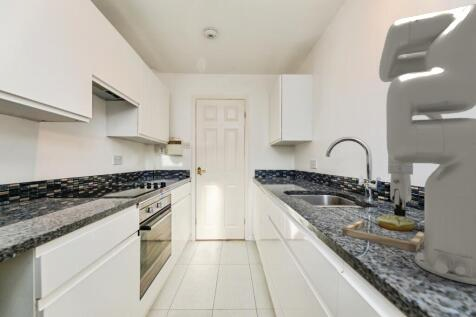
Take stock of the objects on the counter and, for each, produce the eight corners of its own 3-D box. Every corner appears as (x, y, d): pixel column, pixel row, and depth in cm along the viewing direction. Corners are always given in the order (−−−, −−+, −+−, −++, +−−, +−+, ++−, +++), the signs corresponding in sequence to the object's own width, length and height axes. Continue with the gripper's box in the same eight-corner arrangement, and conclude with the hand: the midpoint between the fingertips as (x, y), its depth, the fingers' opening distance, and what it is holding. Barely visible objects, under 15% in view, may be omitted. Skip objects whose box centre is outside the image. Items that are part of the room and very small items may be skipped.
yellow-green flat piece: (370, 225, 81) (370, 214, 81) (389, 222, 85) (389, 212, 86) (402, 233, 71) (402, 221, 71) (420, 230, 76) (421, 218, 76)
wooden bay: (416, 252, 56) (416, 245, 56) (342, 234, 69) (342, 228, 69) (425, 238, 67) (425, 232, 67) (359, 225, 80) (359, 220, 80)
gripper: (408, 170, 76) (408, 225, 75) (416, 170, 86) (416, 218, 86) (382, 170, 81) (382, 221, 81) (393, 169, 91) (392, 214, 91)
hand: (399, 219), depth 83 cm, fingers closed
